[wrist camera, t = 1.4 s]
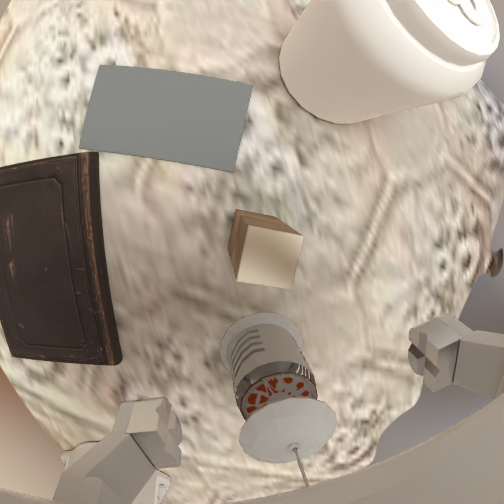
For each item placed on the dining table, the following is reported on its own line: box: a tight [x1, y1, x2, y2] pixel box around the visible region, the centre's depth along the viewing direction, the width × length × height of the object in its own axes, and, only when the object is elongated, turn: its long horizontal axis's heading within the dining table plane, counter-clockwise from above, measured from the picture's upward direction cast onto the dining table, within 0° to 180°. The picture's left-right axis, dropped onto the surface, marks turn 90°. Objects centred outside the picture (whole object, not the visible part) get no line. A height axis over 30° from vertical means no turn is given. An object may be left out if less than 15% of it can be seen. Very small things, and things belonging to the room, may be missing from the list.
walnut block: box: [228, 209, 304, 289], centre depth 27 cm, size 4×4×10 cm
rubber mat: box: [79, 65, 253, 172], centre depth 28 cm, size 9×16×1 cm, turn 78°
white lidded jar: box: [279, 0, 500, 124], centre depth 19 cm, size 12×12×20 cm
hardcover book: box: [0, 152, 123, 365], centre depth 29 cm, size 16×23×2 cm
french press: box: [220, 312, 337, 487], centre depth 24 cm, size 10×12×25 cm
